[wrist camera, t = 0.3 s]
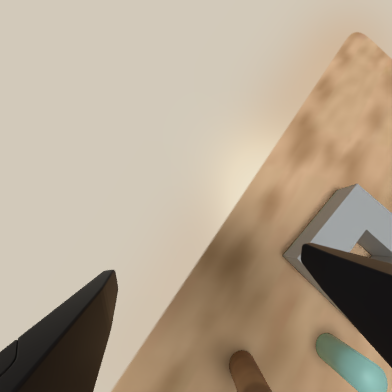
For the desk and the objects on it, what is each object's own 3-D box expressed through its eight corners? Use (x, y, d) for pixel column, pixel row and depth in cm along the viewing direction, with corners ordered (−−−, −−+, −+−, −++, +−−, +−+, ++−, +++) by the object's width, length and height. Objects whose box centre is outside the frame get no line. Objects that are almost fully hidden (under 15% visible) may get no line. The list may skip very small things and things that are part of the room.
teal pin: (344, 346, 21) (393, 380, 16) (330, 368, 20) (376, 409, 15) (325, 327, 21) (367, 354, 16) (311, 347, 21) (349, 382, 16)
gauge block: (411, 255, 24) (443, 257, 21) (361, 332, 21) (389, 347, 18) (337, 189, 25) (357, 183, 22) (282, 255, 23) (297, 258, 20)
